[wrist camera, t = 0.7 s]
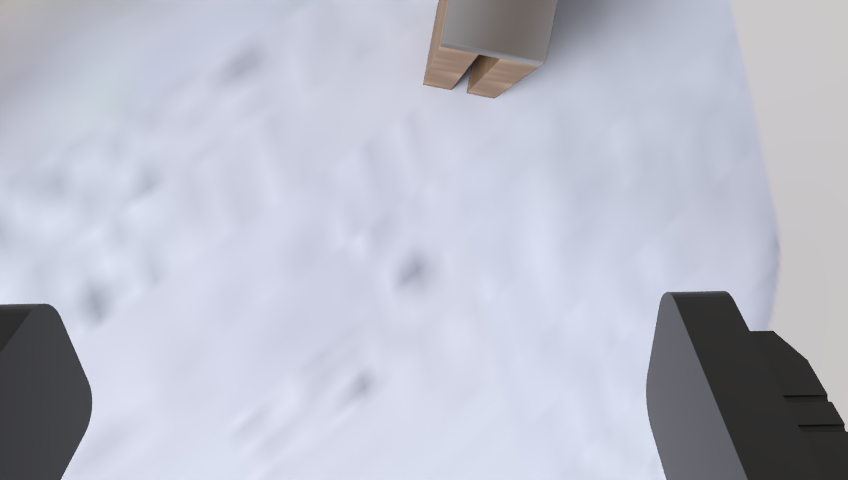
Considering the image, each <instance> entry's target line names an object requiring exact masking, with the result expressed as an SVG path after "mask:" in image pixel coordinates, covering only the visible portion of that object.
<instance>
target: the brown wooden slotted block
mask: <svg viewBox="0 0 848 480" xmlns="http://www.w3.org/2000/svg"><path fill="white" fill-rule="evenodd" d="M557 1H558V0H439V2H438V7H437V12H436V17H435V23H434V28H433V34H432V39H431V45H430V50H429V55H428V61H427V66H426V72H425V77H424V83H423V85H428V86H433V87H439V88H444V89H449V90H451V89H452V88H453V87H454V85H455V84H456V83H457V82H458V80H459V79H460V78H461V76H462V75H463V74H464V73H465V71H466V70H467V69H468V68H469V66H470V65H471V64H472V68H471V73H470V78H469V83H468V89H467V93H469V94H474V95H479V96H484V97H489V98H496V97H497V96H498V95H500V94H501V93H503V92H504V91H505V90H507V89H508V88H510V87H511V86H513V85H514V84H515V83H517V82H518V81H520V80H521V79H522V78H524V77H525V76H527V75H528V74H529V73H531V72H532V71H534V70H535V69H537V68H538V67H539V66H541V65H542V64H544V63H545V62H546V58H547V53H548V47H549V42H550V37H551V32H552V27H553V22H554V17H555V12H556V7H557Z"/></svg>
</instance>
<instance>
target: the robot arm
mask: <svg viewBox="0 0 848 480" xmlns="http://www.w3.org/2000/svg"><path fill="white" fill-rule="evenodd" d="M646 398H647V409H648V416H649V421H650V425H651V429H652V432H653V436H654V439H655V443H656V446H657V449H658V453H659V456H660V459H661V463H662V466H663V469H664V473H665V476H666V479H667V480H848V432H846V431H845V428H844V425H845V424H844V422H843V420H842V419H841V417H840V415H839V414H838V412H837V410H836V408H835V407H834V405H833V403H832V402H828V399H827V393H826V391H825V390H824V388H823V386H822V384H821V383H820V381H819V379H818V378H817V376H816V374H815V372H814V371H813V369H812V367H811V366H810V364H809V362H808V360H807V359H805V358H804V357H803V356H802V355H801V354H800V353H798V352H797V351H796V350H795V349H794V348H792V347H791V346H790V345H789V344H788V343H787V342H785V341H784V340H783V339H782V338H781V337H779V336H778V335H777V334H776V333H775V332H774V331H749V329H748V327H747V325H746V323H745V321H744V319H743V317H742V315H741V313H740V311H739V309H738V307H737V305H736V304H735V302H734V300H733V298H732V296H731V295H730V294H729V293H728V292H726V291H706V292H666V293H665V294H664V295H663V296H662V298H661V302H660V306H659V311H658V317H657V323H656V329H655V334H654V340H653V346H652V352H651V357H650V363H649V369H648V375H647V384H646ZM91 411H92V394H91V388H90V385H89V382H88V380H87V377H86V375H85V373H84V370H83V368H82V366H81V363H80V361H79V359H78V356H77V354H76V352H75V349H74V347H73V345H72V343H71V340H70V338H69V336H68V333H67V331H66V329H65V326H64V324H63V322H62V319H61V317H60V315H59V313H58V312H57V310H56V309H55V308H54V307H53V306H51V305H49V304H8V305H0V480H61V478H62V476H63V474H64V472H65V470H66V468H67V466H68V465H69V463H70V461H71V459H72V457H73V455H74V453H75V451H76V449H77V447H78V445H79V444H80V442H81V440H82V438H83V436H84V434H85V432H86V430H87V427H88V424H89V421H90V417H91Z"/></svg>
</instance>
